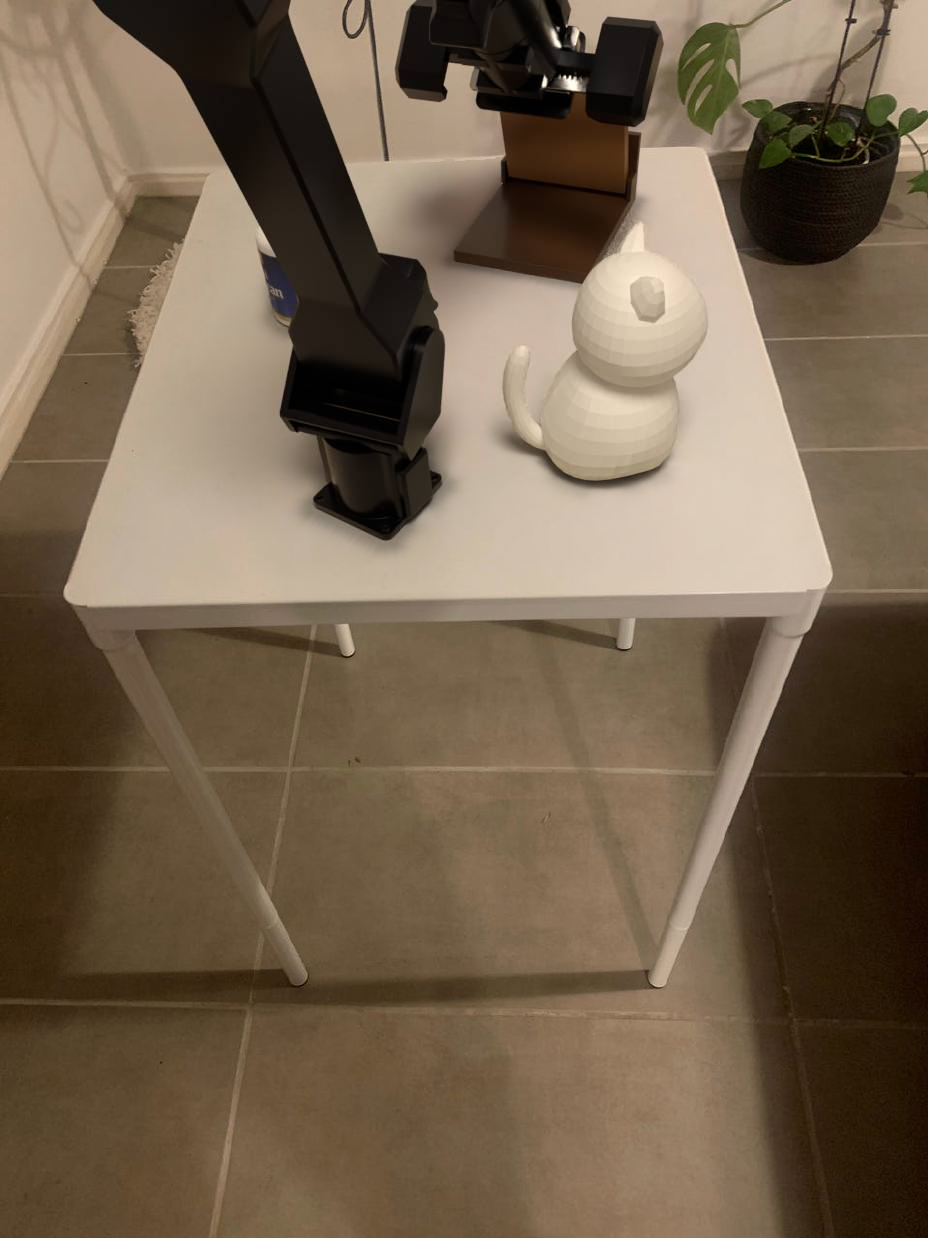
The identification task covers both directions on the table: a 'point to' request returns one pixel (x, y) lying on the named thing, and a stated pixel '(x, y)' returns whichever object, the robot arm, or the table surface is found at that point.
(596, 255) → the stand
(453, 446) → the table surface
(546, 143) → the wooden letter rack
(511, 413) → the cat figurine
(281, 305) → the pill bottle
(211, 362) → the table surface
